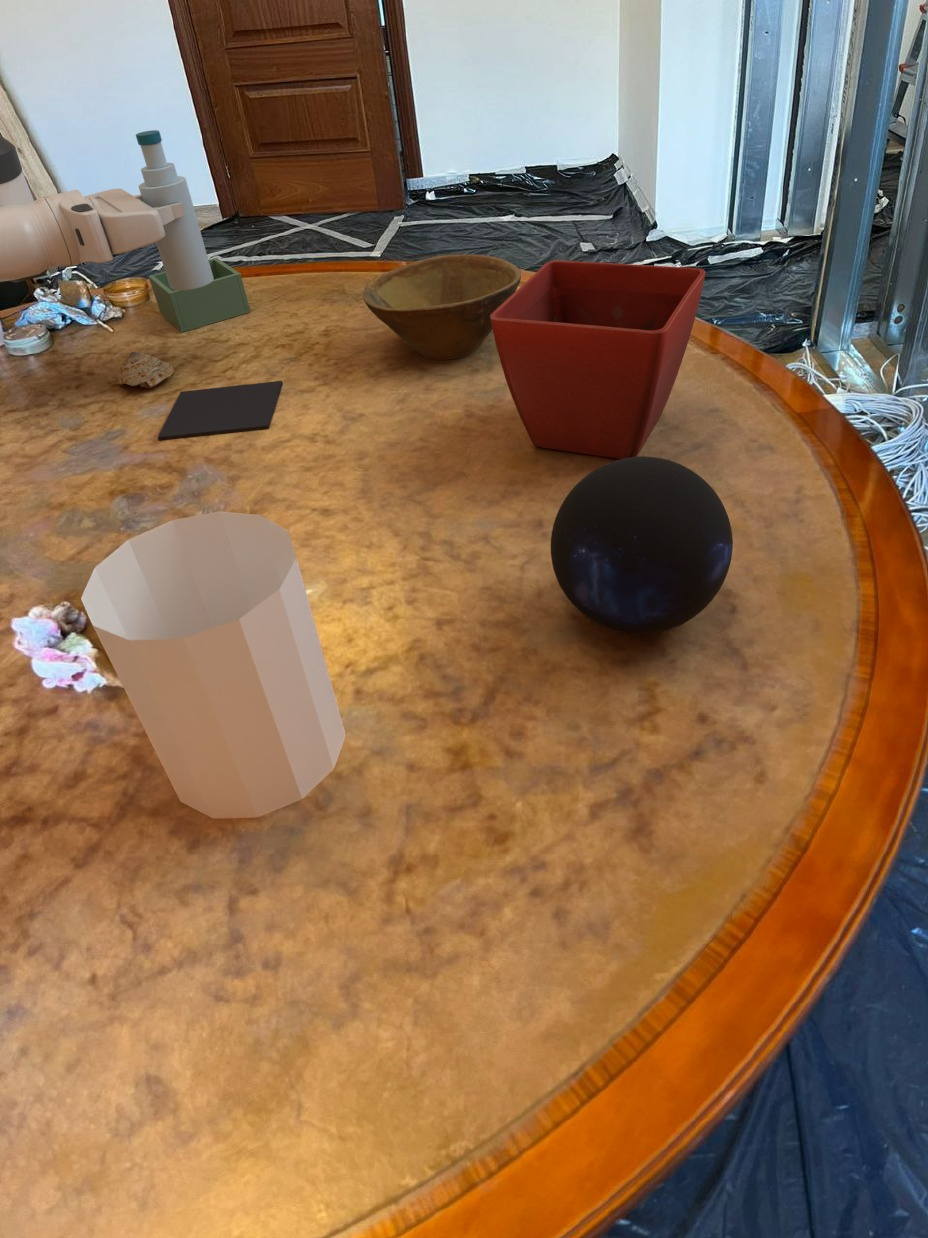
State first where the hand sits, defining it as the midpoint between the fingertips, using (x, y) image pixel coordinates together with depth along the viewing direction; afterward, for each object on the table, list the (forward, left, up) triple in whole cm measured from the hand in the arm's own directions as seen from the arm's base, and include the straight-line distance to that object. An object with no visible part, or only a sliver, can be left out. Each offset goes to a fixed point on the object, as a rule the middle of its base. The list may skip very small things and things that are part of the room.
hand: (174, 203), depth 123 cm
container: (+20, -87, -22) cm, 92 cm away
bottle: (-1, 0, -11) cm, 11 cm away
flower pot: (+55, -40, -22) cm, 71 cm away
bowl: (+37, -9, -22) cm, 44 cm away
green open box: (-6, +18, -22) cm, 29 cm away
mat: (+5, -23, -22) cm, 32 cm away
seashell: (-9, -10, -22) cm, 26 cm away
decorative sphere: (+53, -75, -22) cm, 94 cm away
